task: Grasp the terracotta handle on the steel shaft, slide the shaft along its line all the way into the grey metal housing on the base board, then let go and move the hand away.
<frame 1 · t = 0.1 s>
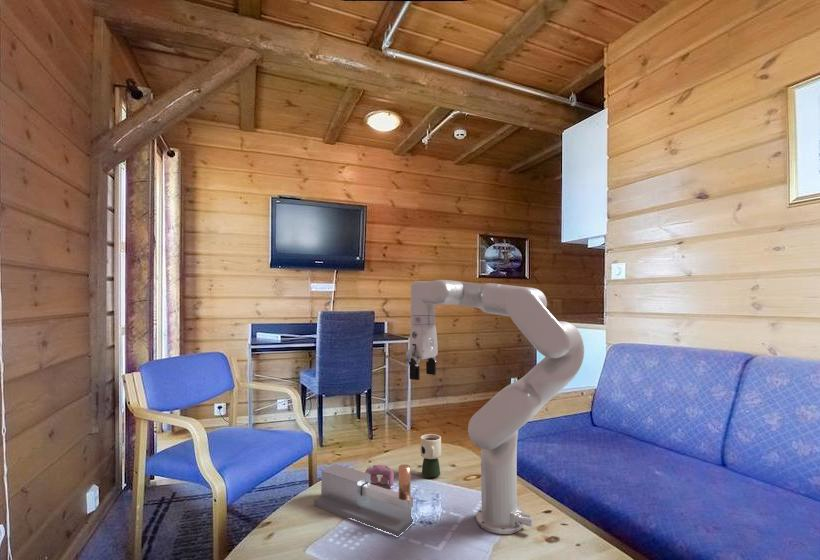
hand: (423, 376, 124), 37 cm above the table, tool pointing down, fingers open, 9 cm apart
shaft: (380, 479, 114), point 10 cm above the table, slide at 8.0 cm
video game controller: (378, 485, 132), on the table
character mug: (430, 476, 139), on the table
housing: (345, 485, 120), on the base board, point 5 cm above the table
base board: (361, 509, 117), on the table
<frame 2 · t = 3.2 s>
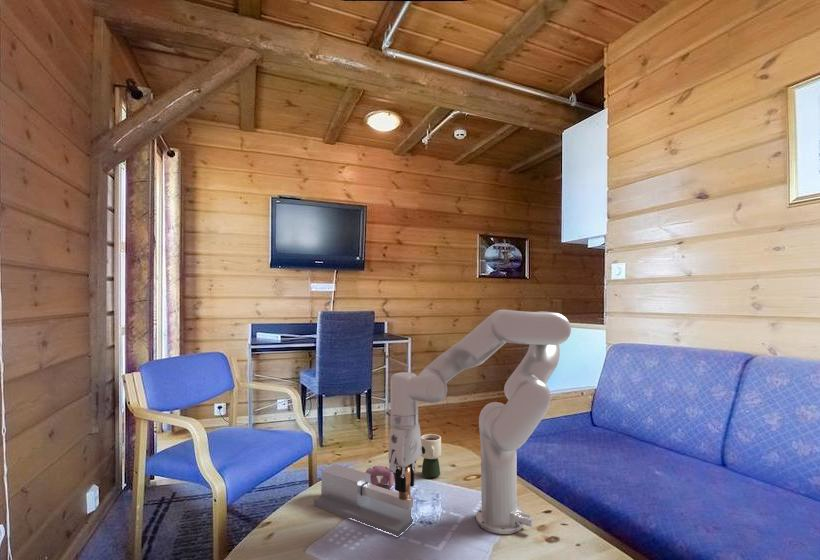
hand: (404, 487, 109), 10 cm above the table, tool pointing down, fingers closed on shaft, 3 cm apart
shaft: (380, 479, 114), point 10 cm above the table, slide at 8.0 cm, touching gripper
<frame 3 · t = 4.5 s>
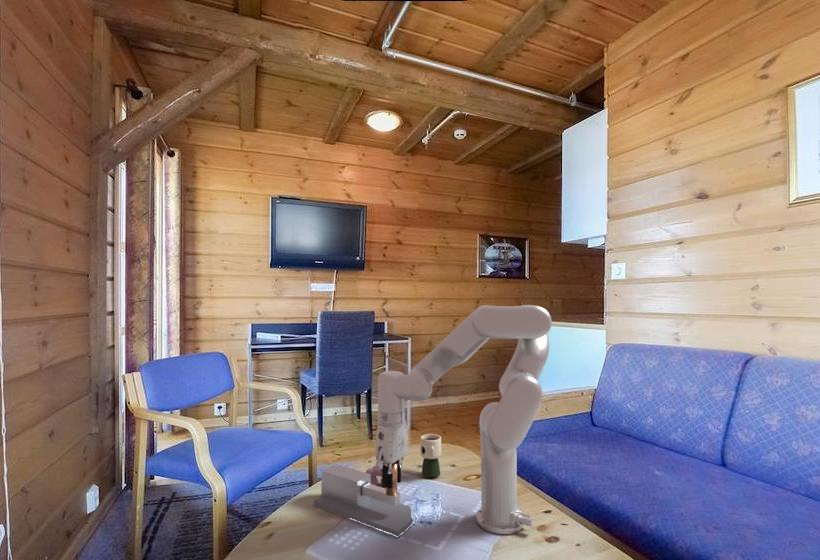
hand: (391, 483, 111), 10 cm above the table, tool pointing down, fingers closed on shaft, 3 cm apart
shaft: (368, 475, 116), point 10 cm above the table, slide at 3.7 cm, touching gripper
everything else where it was.
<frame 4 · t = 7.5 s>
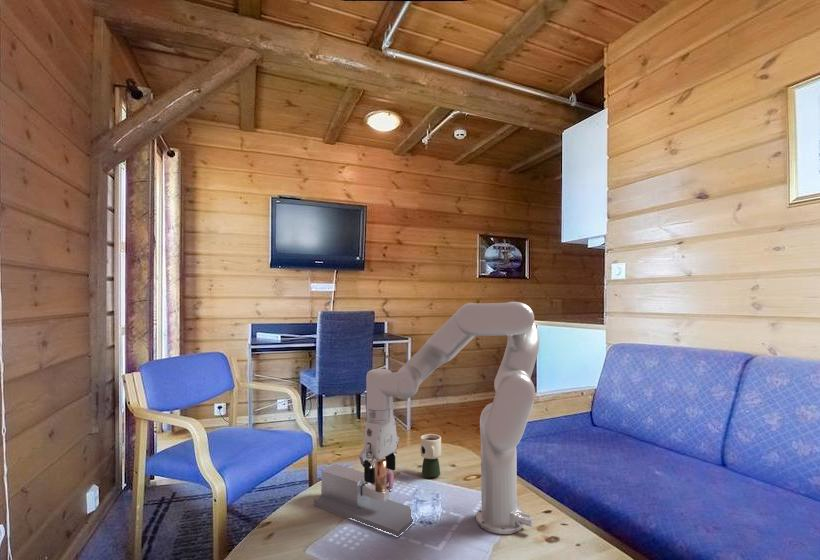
hand: (380, 475, 114), 11 cm above the table, tool pointing down, fingers open, 9 cm apart
shaft: (358, 472, 118), point 10 cm above the table, slide at 0.0 cm
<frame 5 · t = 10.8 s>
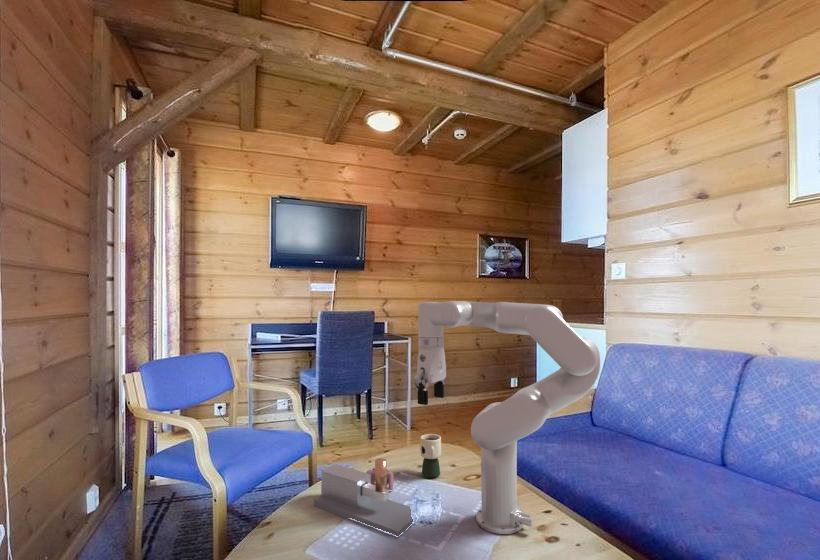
hand: (431, 400, 120), 30 cm above the table, tool pointing down, fingers open, 9 cm apart
at the end: shaft slide at 0.0 cm; the gripper is holding nothing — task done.
